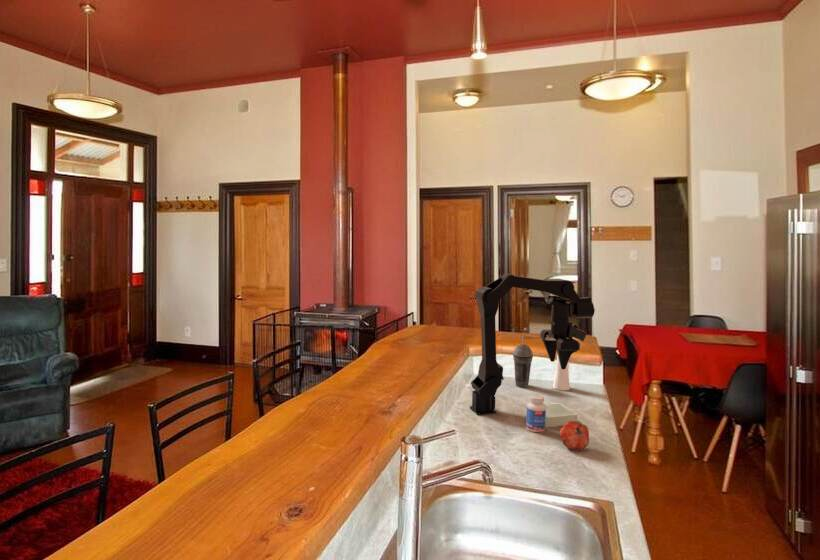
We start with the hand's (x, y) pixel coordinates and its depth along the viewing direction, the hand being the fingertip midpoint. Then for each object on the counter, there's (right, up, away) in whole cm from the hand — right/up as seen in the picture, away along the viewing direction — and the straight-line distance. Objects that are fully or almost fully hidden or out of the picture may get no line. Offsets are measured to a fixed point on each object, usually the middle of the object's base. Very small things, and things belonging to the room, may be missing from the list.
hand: (557, 365), depth 161 cm
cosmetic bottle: (+8, -12, +21) cm, 25 cm away
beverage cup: (-7, -12, +23) cm, 27 cm away
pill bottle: (-12, -16, -17) cm, 26 cm away
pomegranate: (-4, -17, -29) cm, 34 cm away
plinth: (-4, -15, -9) cm, 18 cm away
